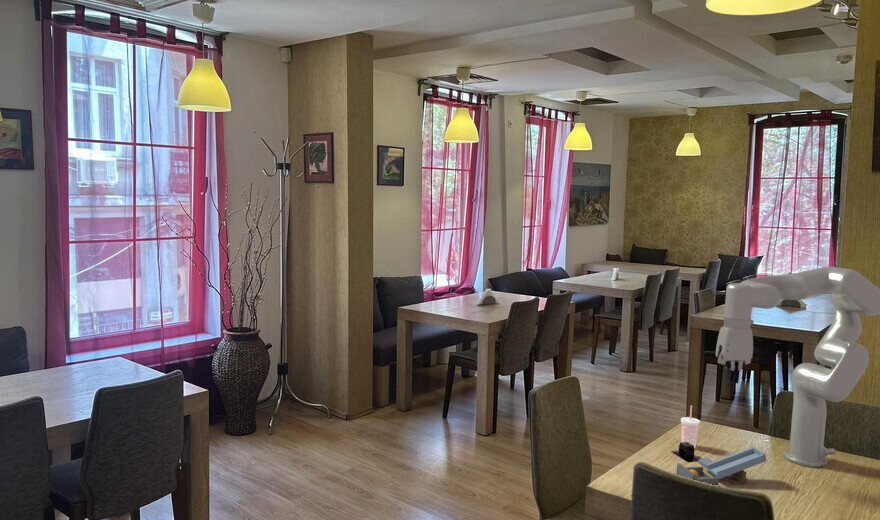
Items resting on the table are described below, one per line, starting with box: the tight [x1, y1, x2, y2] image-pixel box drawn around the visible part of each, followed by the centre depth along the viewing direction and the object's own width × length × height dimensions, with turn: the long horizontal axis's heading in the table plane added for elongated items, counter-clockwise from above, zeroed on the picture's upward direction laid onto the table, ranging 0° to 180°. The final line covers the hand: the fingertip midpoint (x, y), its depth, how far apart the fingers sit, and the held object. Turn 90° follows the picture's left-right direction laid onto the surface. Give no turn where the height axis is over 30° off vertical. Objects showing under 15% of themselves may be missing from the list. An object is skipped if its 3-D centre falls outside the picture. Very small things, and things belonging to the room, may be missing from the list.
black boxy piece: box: [670, 441, 700, 463], centre depth 219 cm, size 12×7×5 cm, turn 16°
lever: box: [697, 446, 767, 480], centre depth 204 cm, size 16×11×3 cm
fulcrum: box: [723, 470, 753, 486], centre depth 201 cm, size 6×7×4 cm
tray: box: [676, 462, 720, 486], centre depth 199 cm, size 8×8×4 cm
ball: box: [690, 469, 698, 478], centre depth 199 cm, size 3×3×3 cm
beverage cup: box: [680, 405, 701, 449], centre depth 227 cm, size 6×6×14 cm
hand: (732, 382), depth 208 cm, fingers closed
